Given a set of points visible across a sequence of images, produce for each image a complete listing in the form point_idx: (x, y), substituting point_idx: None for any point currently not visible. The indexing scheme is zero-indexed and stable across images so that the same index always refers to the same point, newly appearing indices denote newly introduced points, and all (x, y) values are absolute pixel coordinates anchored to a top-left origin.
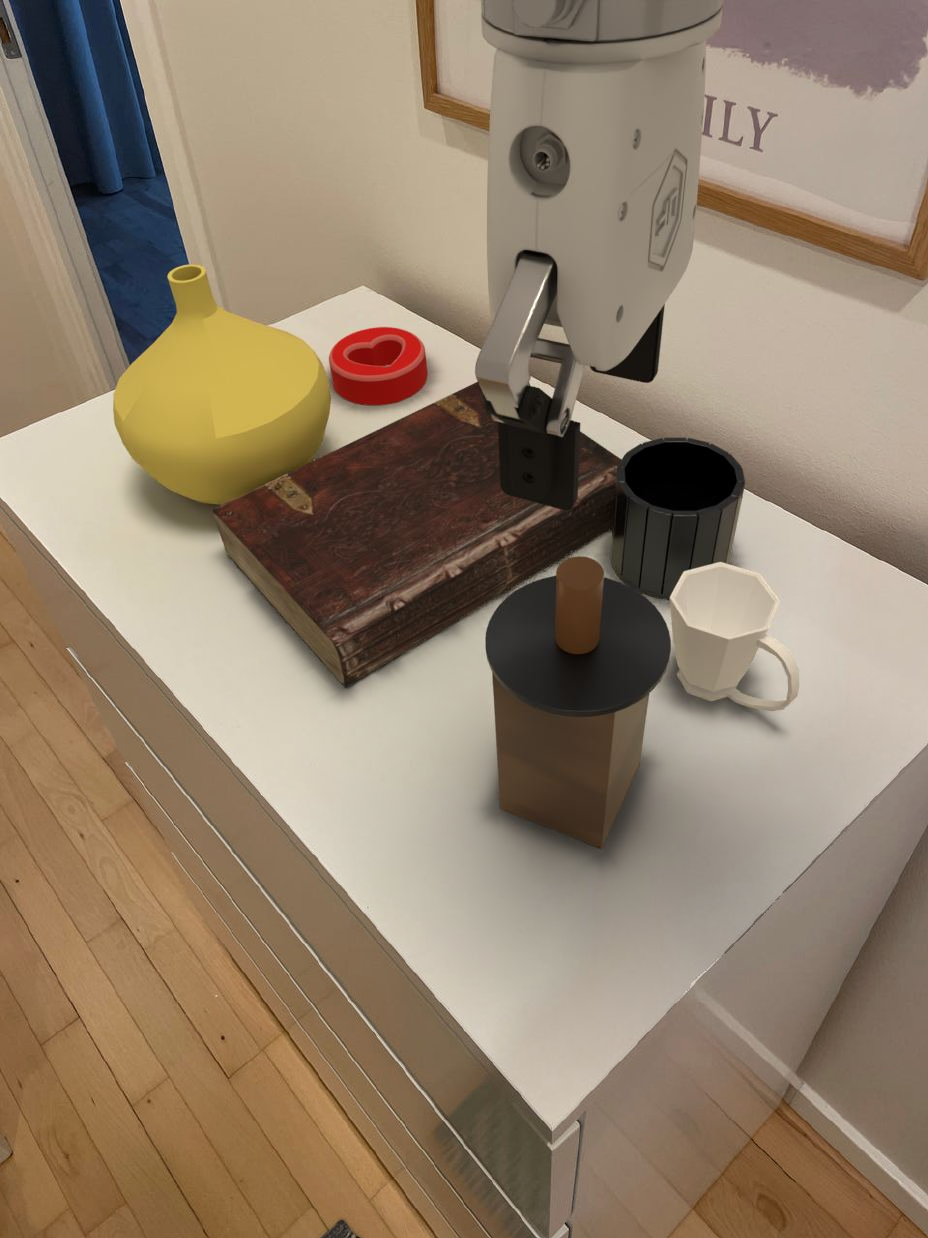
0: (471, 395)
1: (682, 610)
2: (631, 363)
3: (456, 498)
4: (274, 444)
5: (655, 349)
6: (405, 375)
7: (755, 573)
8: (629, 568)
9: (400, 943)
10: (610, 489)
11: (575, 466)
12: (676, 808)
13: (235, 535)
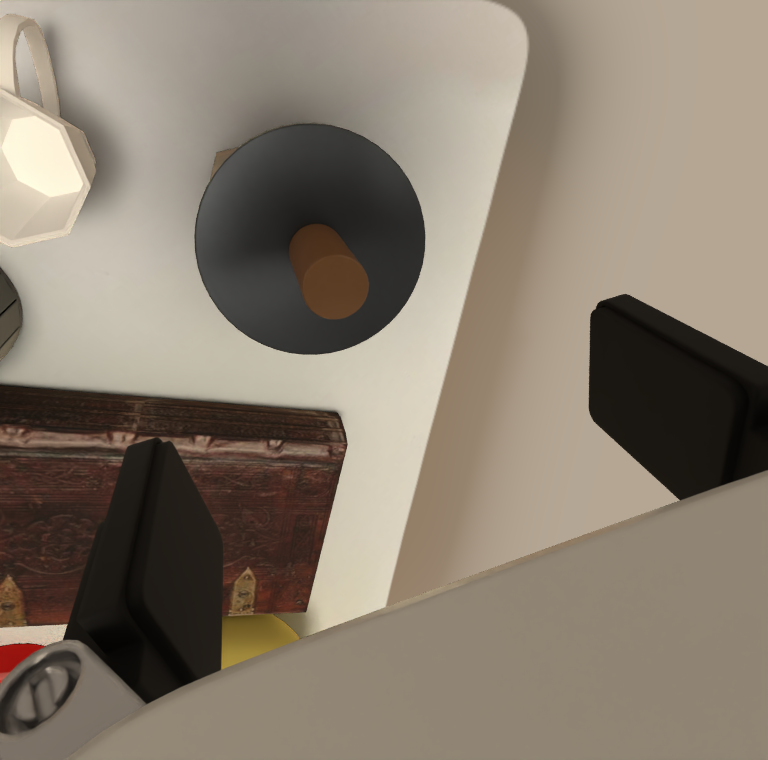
0: None
1: (46, 218)
2: (184, 499)
3: None
4: (231, 648)
5: (143, 493)
6: (5, 670)
7: None
8: (12, 322)
9: (486, 213)
10: None
11: (686, 332)
12: (233, 86)
13: (313, 580)
